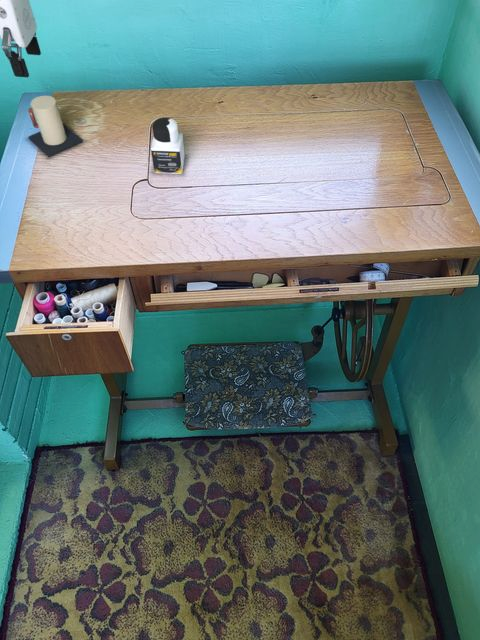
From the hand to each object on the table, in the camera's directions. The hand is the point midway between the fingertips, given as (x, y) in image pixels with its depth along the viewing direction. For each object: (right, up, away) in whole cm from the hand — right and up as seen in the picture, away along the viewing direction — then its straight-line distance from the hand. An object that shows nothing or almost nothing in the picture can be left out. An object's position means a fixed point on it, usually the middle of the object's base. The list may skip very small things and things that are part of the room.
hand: (28, 65), depth 122 cm
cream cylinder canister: (0, -10, +16) cm, 19 cm away
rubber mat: (0, -11, +17) cm, 20 cm away
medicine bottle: (+31, -19, +14) cm, 38 cm away
